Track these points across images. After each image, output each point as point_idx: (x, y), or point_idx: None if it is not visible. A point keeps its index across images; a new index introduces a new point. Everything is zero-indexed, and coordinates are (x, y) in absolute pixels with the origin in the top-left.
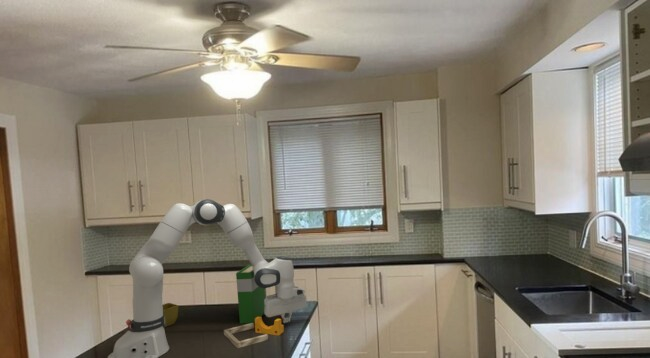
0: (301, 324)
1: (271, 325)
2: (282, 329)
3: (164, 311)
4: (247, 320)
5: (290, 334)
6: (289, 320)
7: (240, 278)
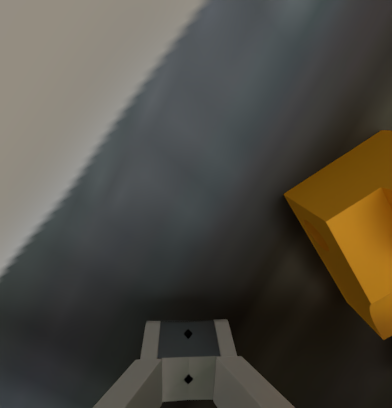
0: (25, 253)
1: (384, 331)
2: (328, 185)
3: None
4: None
5: (276, 58)
6: (154, 332)
7: None
